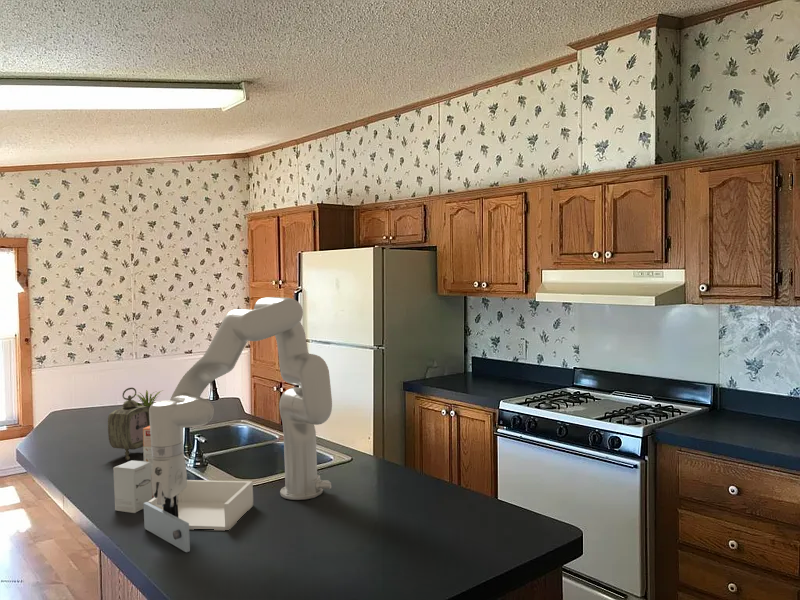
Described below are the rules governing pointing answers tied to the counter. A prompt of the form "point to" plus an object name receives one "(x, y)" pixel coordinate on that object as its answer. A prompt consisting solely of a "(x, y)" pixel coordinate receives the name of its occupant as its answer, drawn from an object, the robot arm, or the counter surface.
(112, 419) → the tabletop clock
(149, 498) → the supplement box
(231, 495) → the case
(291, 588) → the counter surface
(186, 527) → the side door
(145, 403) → the house plant
